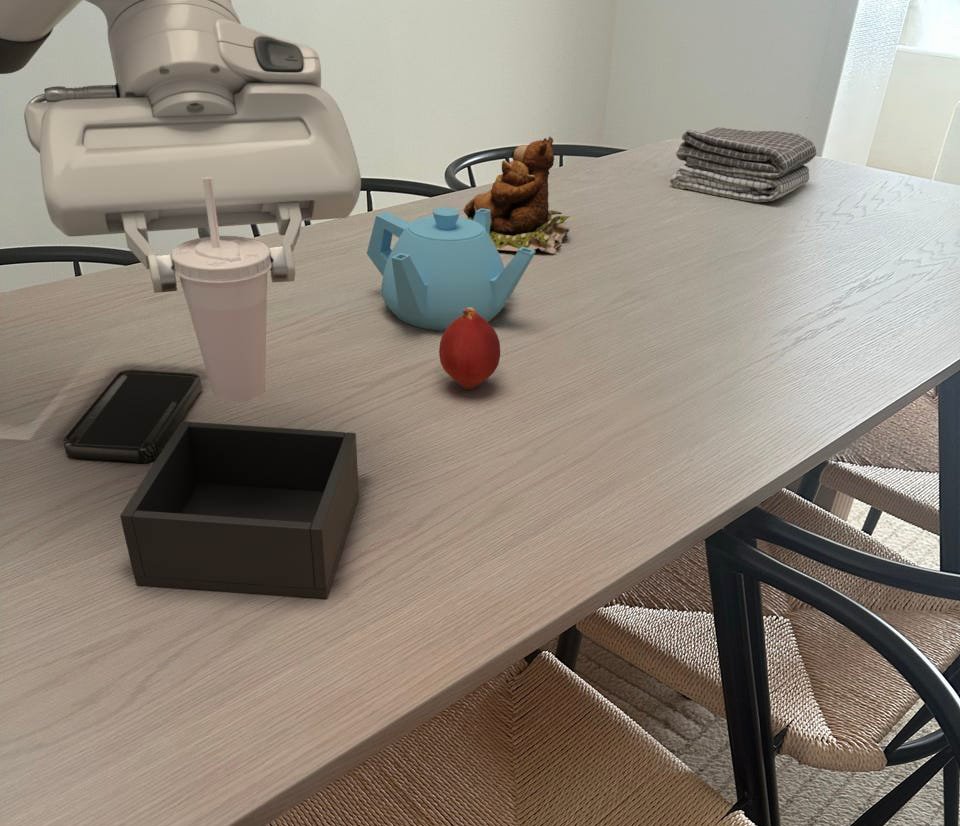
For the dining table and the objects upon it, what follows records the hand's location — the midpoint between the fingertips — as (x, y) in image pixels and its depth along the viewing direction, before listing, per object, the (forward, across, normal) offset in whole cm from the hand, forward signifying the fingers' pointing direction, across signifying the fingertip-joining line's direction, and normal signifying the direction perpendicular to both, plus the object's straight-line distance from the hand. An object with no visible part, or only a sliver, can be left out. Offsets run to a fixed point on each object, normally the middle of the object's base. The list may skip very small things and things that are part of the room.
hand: (226, 283), depth 65 cm
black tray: (+15, -1, +11) cm, 19 cm away
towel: (-39, +87, +66) cm, 116 cm away
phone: (0, -7, +26) cm, 27 cm away
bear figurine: (-29, +43, +55) cm, 76 cm away
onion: (+1, +23, +26) cm, 35 cm away
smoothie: (+5, 0, +6) cm, 8 cm away
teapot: (-13, +27, +39) cm, 49 cm away
